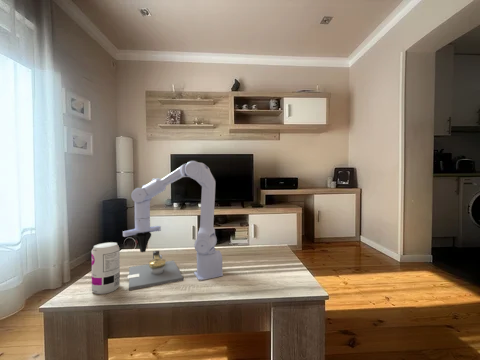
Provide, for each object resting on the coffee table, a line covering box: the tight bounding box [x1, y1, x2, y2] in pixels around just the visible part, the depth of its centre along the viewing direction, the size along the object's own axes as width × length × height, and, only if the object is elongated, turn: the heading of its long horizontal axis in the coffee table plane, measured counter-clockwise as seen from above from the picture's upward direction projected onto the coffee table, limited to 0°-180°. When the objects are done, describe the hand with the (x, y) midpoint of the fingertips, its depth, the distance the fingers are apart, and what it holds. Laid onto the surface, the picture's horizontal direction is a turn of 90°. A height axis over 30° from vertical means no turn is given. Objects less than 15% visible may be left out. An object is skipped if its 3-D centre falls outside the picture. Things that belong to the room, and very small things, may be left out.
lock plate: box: [127, 254, 184, 291], centre depth 91 cm, size 18×21×5 cm
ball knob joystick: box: [148, 250, 166, 268], centre depth 95 cm, size 15×6×3 cm, turn 22°
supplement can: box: [91, 241, 121, 295], centre depth 79 cm, size 8×8×15 cm
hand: (142, 251), depth 94 cm, fingers closed
